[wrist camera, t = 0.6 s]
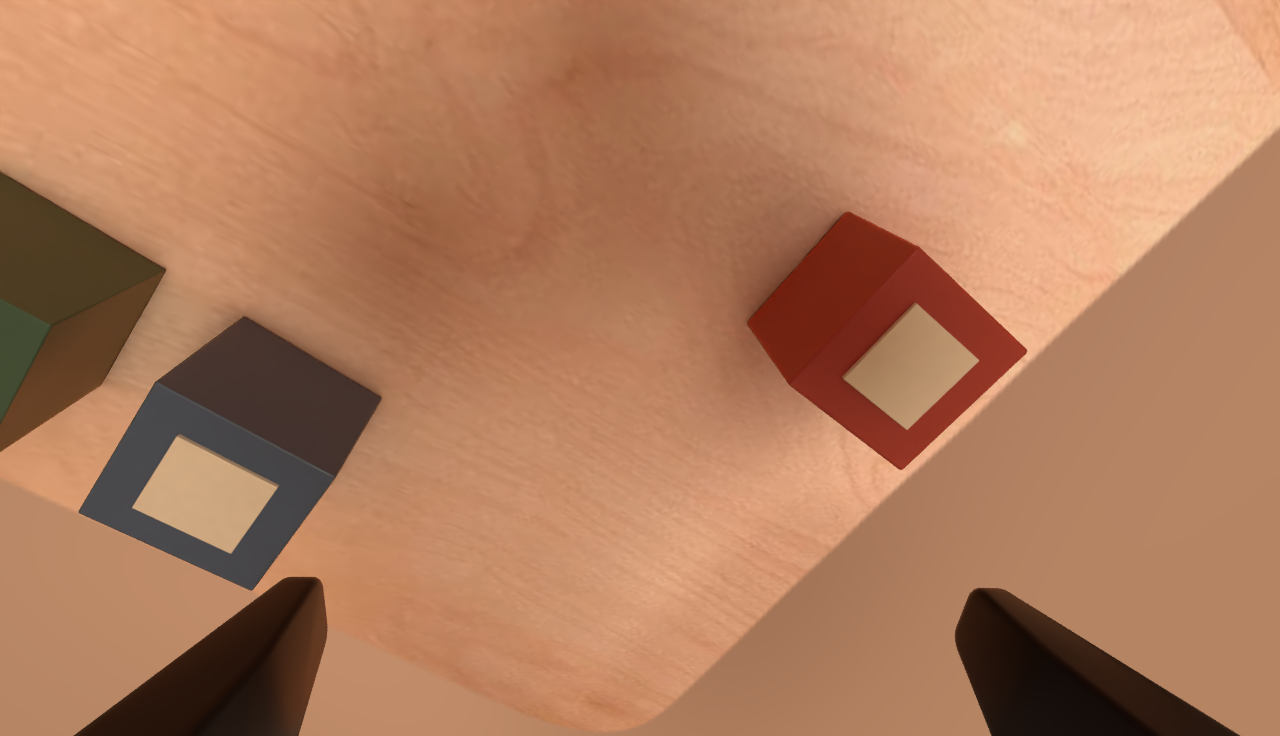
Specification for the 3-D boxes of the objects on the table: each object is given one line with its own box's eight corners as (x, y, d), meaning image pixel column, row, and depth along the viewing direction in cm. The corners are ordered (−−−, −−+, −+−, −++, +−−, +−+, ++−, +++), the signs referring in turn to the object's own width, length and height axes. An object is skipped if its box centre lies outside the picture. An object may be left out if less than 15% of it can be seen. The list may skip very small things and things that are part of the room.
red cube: (940, 297, 23) (1032, 353, 19) (841, 398, 25) (903, 474, 20) (846, 209, 22) (921, 247, 17) (745, 322, 23) (789, 386, 18)
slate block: (382, 397, 23) (334, 480, 18) (311, 494, 24) (249, 595, 20) (243, 315, 21) (152, 383, 17) (176, 424, 23) (73, 515, 18)
